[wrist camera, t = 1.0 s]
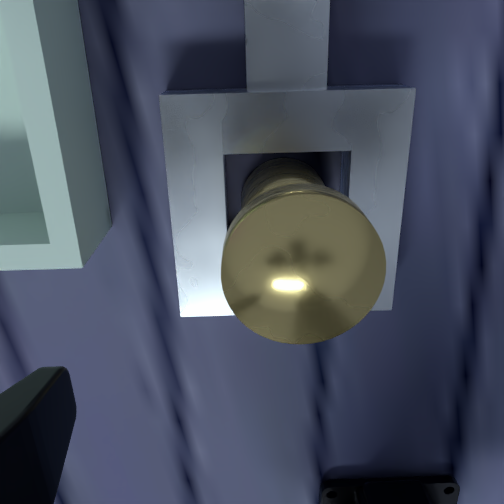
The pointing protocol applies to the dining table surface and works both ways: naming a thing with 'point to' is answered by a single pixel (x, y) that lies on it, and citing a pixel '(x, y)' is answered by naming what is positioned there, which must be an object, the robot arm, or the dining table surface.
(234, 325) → the dining table surface
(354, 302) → the pin
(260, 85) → the tensioner bracket
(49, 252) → the parts tray
